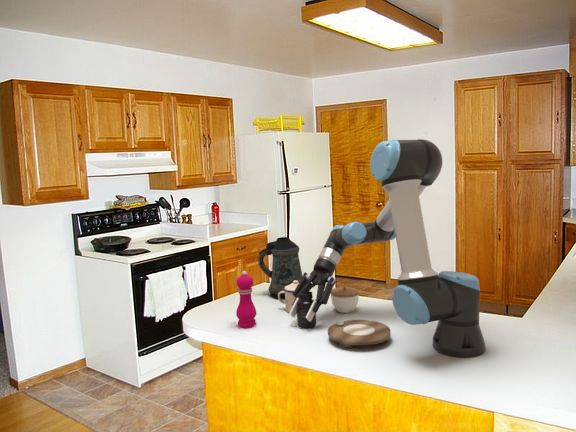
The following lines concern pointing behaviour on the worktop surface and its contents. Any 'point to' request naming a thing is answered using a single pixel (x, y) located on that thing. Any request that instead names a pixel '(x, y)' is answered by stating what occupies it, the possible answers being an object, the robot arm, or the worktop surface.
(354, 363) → the worktop surface
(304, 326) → the supplement bottle
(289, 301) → the teacup with lid
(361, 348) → the worktop surface
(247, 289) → the pepper mill
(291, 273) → the beer stein
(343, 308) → the lidded jar
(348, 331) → the stand
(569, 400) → the worktop surface
